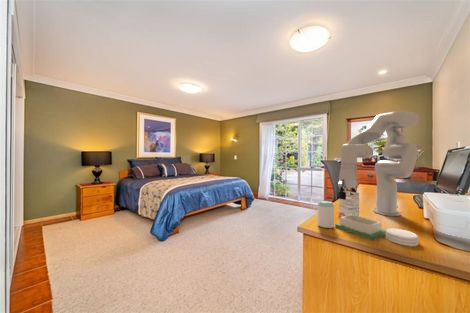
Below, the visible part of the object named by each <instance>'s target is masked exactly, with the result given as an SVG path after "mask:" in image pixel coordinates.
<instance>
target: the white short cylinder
mask: <svg viewBox="0 0 470 313" xmlns="http://www.w3.org/2000/svg"><path fill="white" fill-rule="evenodd" d="M385 230H386V235H385V238H386V239H387V240H388V241H389V242H392V243H394V244H397V245H399V246H400V245H401V246H405V247H417V246H418V245H419V236H418V235H417V234H416V233H414V232H412V231H410V230H406V229H403V228H402V229H401V228H393V227H392V228H391V227H390V228H387V229H385Z"/></svg>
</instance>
